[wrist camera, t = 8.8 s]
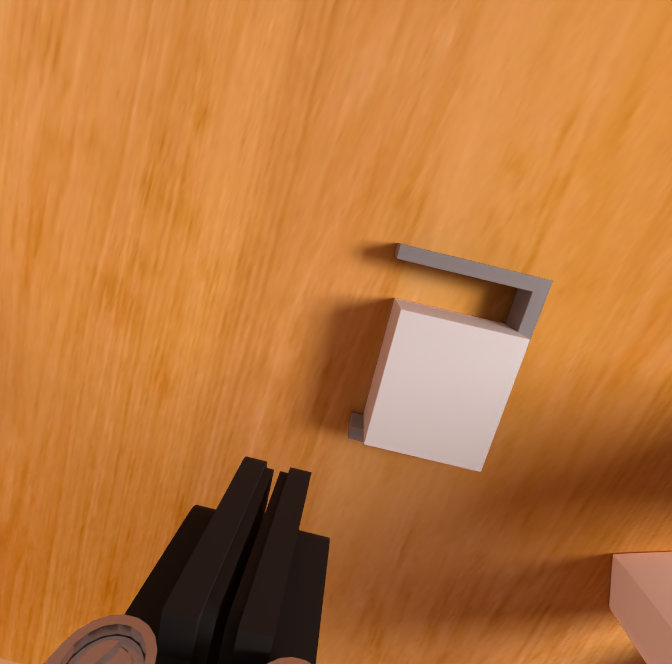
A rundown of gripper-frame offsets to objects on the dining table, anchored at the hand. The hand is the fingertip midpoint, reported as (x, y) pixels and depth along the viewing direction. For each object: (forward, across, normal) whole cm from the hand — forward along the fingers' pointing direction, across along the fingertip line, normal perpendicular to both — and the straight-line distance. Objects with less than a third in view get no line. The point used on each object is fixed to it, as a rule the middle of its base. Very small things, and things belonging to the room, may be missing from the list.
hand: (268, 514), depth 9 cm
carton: (+22, -8, +2) cm, 23 cm away
